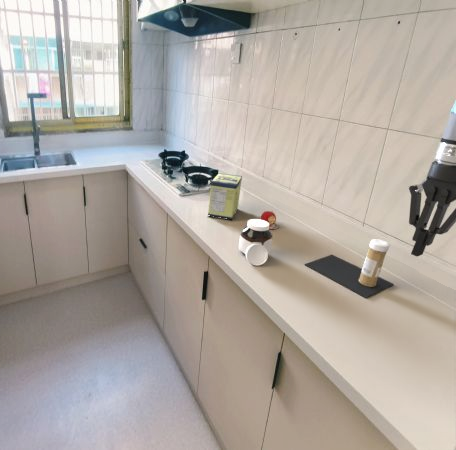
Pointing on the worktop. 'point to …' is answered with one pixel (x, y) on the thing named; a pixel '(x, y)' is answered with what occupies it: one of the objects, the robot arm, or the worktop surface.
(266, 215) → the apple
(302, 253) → the worktop surface
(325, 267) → the mat
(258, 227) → the spread jar
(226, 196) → the protein box
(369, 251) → the spice jar
